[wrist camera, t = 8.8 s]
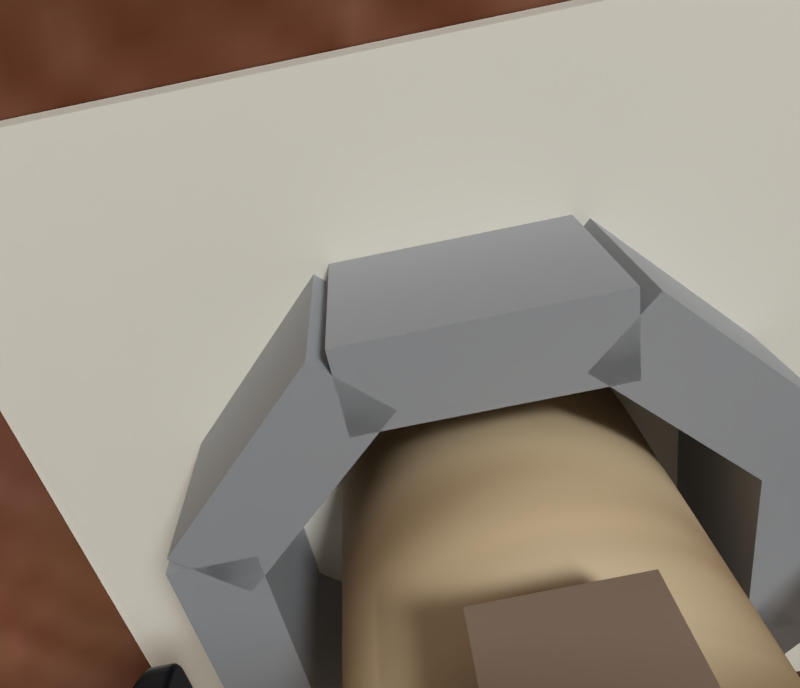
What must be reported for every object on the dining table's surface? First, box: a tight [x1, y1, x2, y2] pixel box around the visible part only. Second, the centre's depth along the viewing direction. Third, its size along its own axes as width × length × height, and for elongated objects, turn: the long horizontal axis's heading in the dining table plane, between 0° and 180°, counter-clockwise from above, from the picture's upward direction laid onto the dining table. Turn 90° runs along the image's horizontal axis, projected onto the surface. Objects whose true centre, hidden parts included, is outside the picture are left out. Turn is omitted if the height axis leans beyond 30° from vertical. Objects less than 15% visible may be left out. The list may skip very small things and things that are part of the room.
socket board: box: [0, 0, 800, 688], centre depth 11 cm, size 14×14×3 cm
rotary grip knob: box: [342, 387, 800, 688], centre depth 9 cm, size 6×5×6 cm
